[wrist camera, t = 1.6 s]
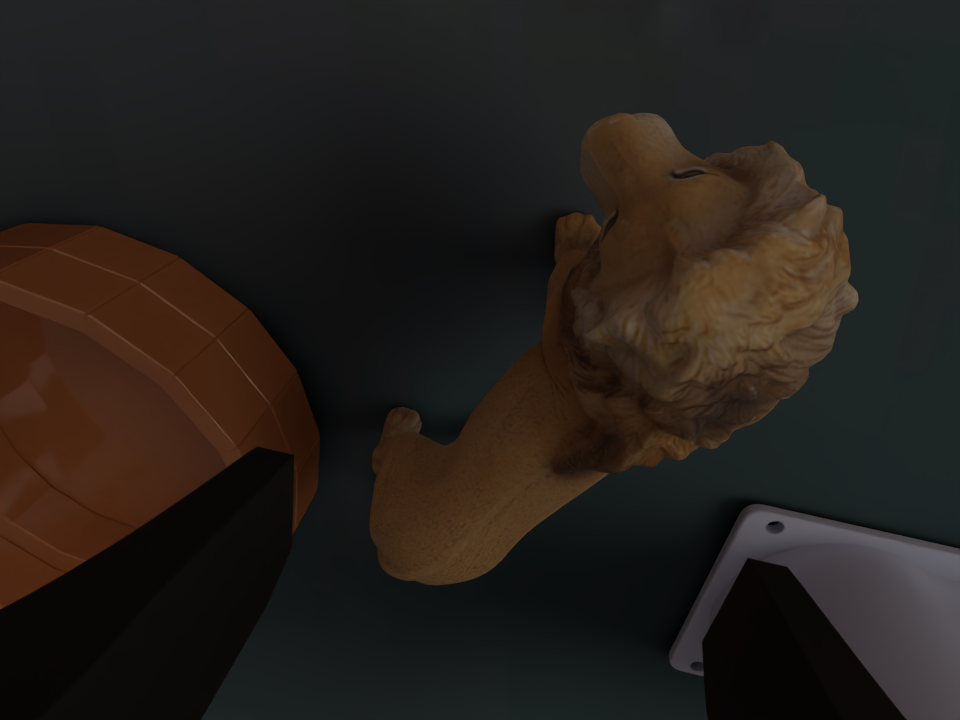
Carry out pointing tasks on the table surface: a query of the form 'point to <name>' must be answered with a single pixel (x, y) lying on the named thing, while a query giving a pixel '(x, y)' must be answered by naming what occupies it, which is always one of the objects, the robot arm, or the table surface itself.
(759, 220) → the lion figurine
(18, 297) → the bowl
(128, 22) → the table surface
